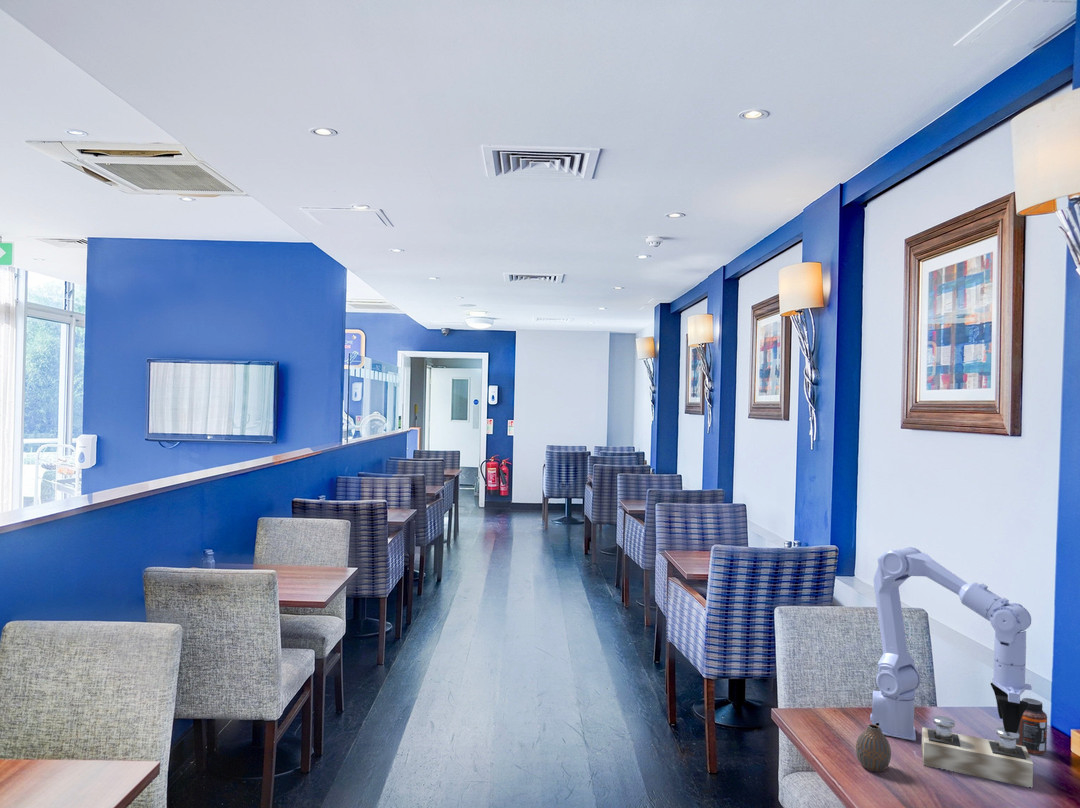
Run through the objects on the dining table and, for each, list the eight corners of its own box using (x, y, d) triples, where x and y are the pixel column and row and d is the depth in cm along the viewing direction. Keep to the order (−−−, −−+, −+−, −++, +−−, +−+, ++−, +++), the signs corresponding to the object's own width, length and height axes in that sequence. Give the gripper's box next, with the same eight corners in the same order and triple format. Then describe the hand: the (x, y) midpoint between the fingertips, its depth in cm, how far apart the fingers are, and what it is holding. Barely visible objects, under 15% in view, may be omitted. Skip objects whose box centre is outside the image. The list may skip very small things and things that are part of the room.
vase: (888, 763, 161) (889, 723, 161) (892, 777, 155) (893, 735, 155) (854, 757, 164) (855, 717, 164) (856, 771, 157) (858, 729, 157)
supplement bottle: (1051, 757, 167) (1052, 707, 167) (1022, 754, 168) (1023, 704, 168) (1039, 746, 173) (1040, 697, 173) (1010, 742, 174) (1012, 694, 174)
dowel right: (996, 755, 157) (997, 733, 157) (994, 747, 161) (994, 725, 161) (1020, 760, 155) (1020, 737, 156) (1016, 752, 159) (1017, 729, 159)
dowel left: (933, 743, 162) (933, 721, 162) (932, 735, 166) (932, 714, 166) (955, 747, 161) (955, 725, 161) (953, 740, 164) (954, 718, 164)
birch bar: (923, 765, 161) (924, 740, 161) (921, 748, 169) (922, 725, 169) (1032, 788, 152) (1033, 762, 152) (1024, 769, 161) (1025, 745, 161)
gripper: (1038, 675, 150) (1036, 742, 150) (1025, 655, 163) (1024, 717, 163) (997, 669, 153) (995, 735, 153) (988, 650, 166) (987, 710, 166)
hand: (1007, 725), depth 158 cm, fingers open, 7 cm apart
